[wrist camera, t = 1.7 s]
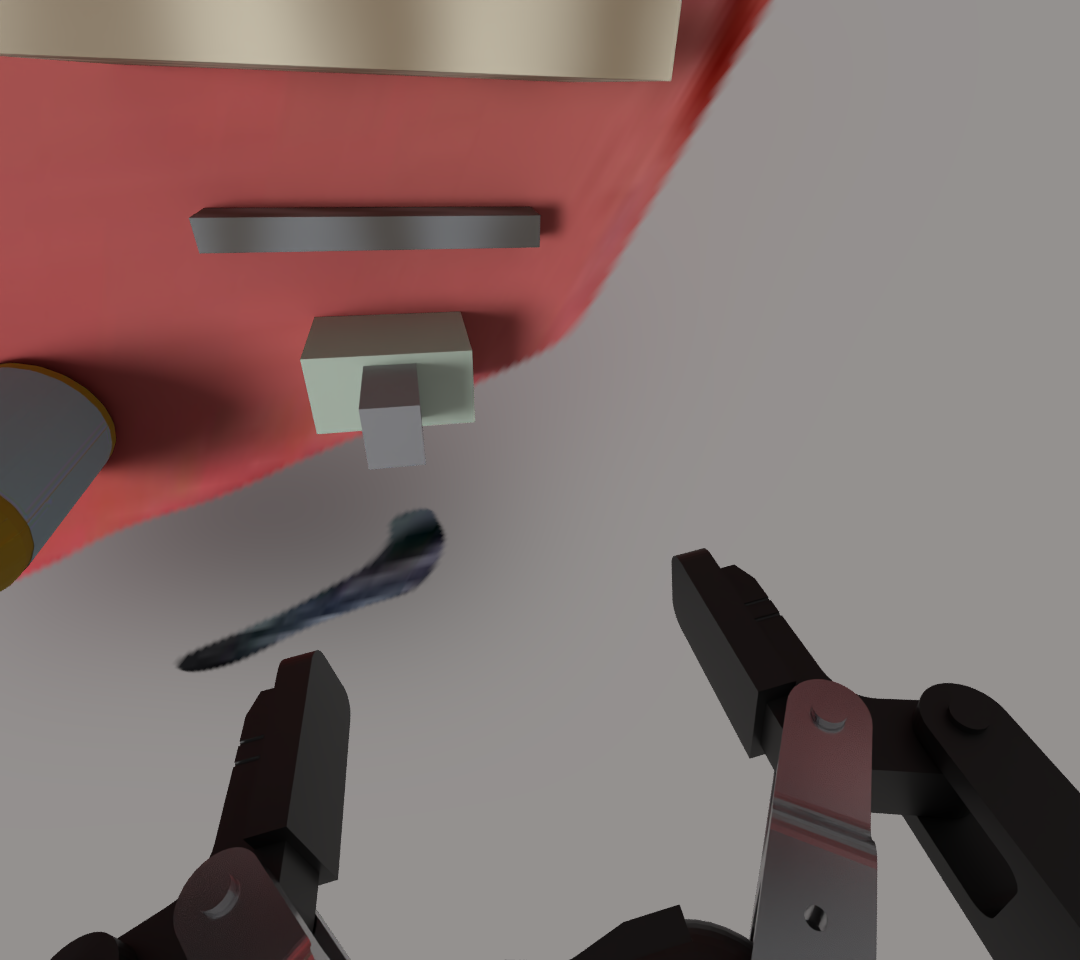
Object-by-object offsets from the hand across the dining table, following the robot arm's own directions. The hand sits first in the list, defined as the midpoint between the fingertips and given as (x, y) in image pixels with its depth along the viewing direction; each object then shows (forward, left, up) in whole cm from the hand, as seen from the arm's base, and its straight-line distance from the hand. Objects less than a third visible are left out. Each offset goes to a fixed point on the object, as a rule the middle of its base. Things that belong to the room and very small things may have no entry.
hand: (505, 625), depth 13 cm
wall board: (-3, +8, -24) cm, 25 cm away
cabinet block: (-3, -3, -24) cm, 24 cm away
